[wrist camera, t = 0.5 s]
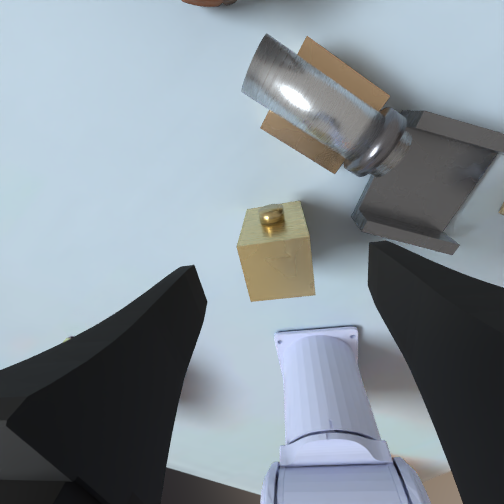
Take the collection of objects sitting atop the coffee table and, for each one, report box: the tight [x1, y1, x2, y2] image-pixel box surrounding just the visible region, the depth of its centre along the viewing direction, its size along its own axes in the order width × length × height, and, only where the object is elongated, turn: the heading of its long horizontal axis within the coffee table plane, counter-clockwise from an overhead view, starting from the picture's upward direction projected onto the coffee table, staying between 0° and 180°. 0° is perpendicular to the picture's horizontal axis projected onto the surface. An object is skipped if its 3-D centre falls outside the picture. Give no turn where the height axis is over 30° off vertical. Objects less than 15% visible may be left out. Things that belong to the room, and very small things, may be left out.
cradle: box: [351, 111, 504, 255], centre depth 16 cm, size 6×7×3 cm
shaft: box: [242, 34, 412, 177], centre depth 13 cm, size 8×4×6 cm, turn 61°
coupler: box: [237, 201, 315, 302], centre depth 17 cm, size 6×4×6 cm
